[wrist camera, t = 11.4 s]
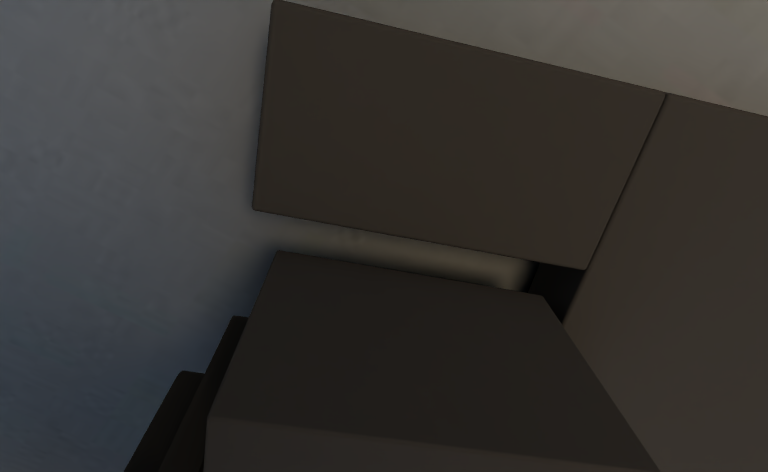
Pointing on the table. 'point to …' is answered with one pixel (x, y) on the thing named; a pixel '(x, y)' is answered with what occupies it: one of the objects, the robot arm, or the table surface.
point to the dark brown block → (409, 381)
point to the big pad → (548, 206)
